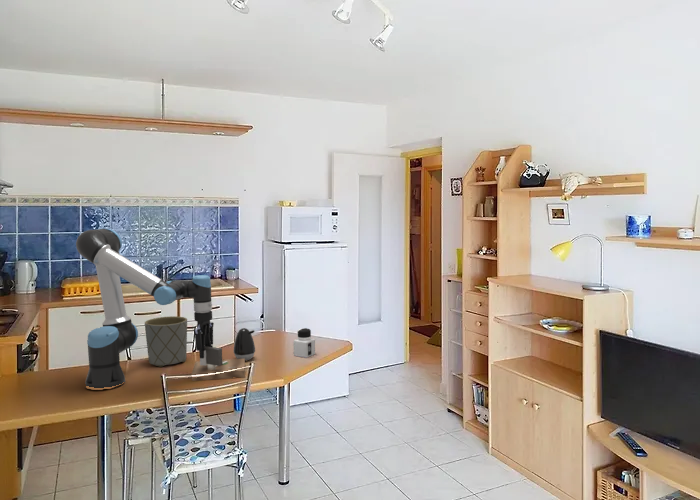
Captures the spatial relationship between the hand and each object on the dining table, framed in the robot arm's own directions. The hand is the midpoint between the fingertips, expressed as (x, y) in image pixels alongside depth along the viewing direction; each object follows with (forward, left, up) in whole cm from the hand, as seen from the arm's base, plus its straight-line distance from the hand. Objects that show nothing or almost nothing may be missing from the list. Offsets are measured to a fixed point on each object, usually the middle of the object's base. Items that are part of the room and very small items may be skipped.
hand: (205, 363), depth 234 cm
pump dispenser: (+17, +20, -5) cm, 27 cm away
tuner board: (+6, +2, -5) cm, 8 cm away
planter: (-19, +24, -5) cm, 31 cm away
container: (+46, +21, -5) cm, 50 cm away
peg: (+5, +1, -2) cm, 6 cm away
